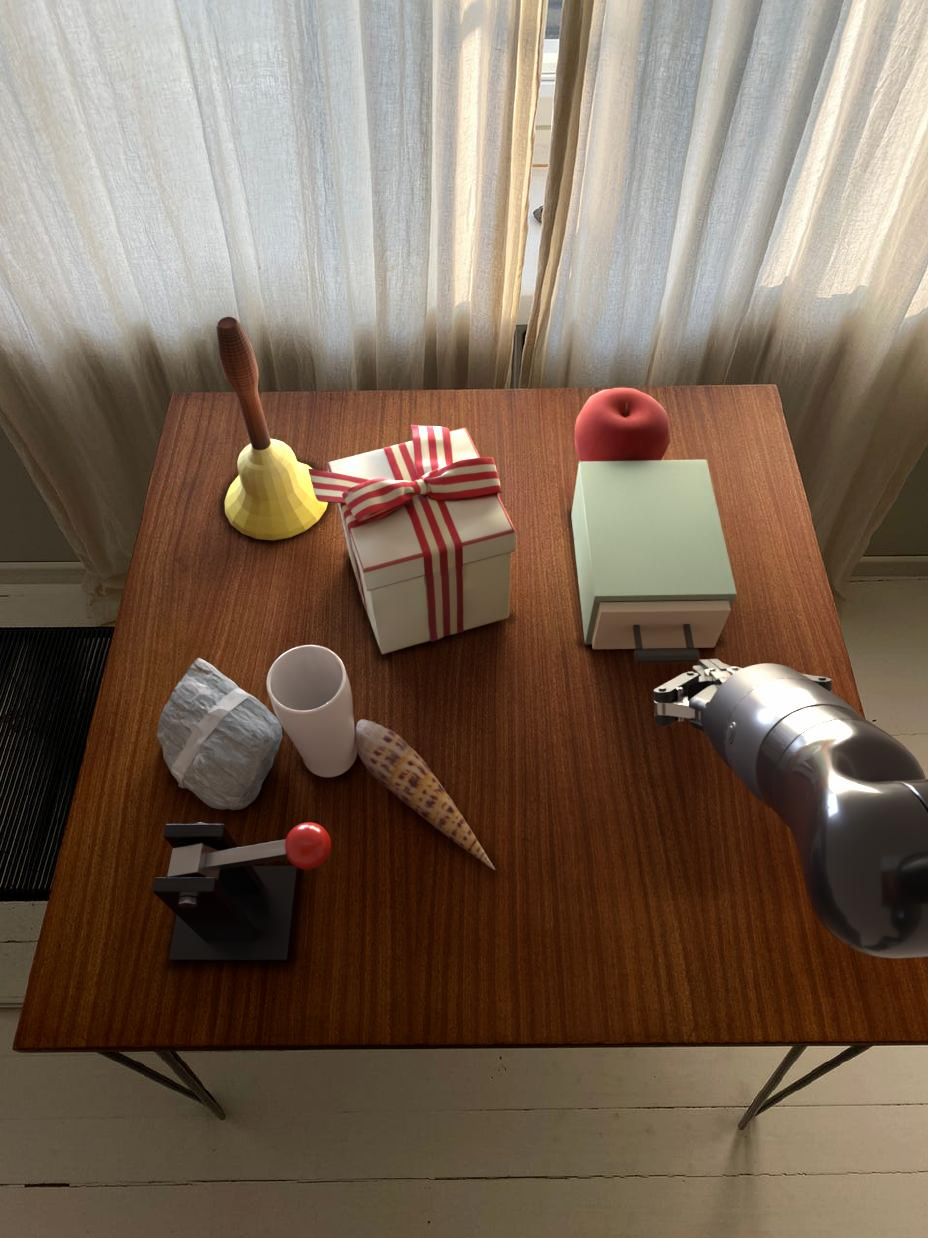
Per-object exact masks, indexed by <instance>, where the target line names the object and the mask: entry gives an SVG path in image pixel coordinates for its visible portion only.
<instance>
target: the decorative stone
mask: <svg viewBox="0 0 928 1238" xmlns="http://www.w3.org/2000/svg"><path fill="white" fill-rule="evenodd" d="M173 689H174V690H173V691H172V693H171V695H170V697H169V699H168V701H167V702H166V704H165V705H164V707H163V709H162V711H161V714H160V716H159V720H158V726H157V727H158V729H157V735H156V737H157V741H158V743H159V744H160V746H161V748H162V757H163V760H164V762H165V763H166V766H167V767H168V770H169V772H170V774H171V776H173V777H174V779H175V781H176V782H177V783H178V785H177V786H178V787H179V788H181V789H187V790H189V791H190V792H191V793H193V794H194V795H195V796H196V797H197V798H198V799H199V800H200V801H201V802H203V803H204V804H206V805H207V806H208V807H210V808H213V809H216V810H230V811H238V810H243V809H245V808H247V807H248V806H249V805H250V804H251V803H253V802H254V801H255V800H256V799H257V798H258V796H259V794H260V792H261V789H262V787H263V784H264V783H263V782H264V781H265V779H266V777H267V775H268V774H269V772H270V771H271V769H272V767H273V766H274V759H275V758H276V755H277V754H278V752H279V750H280V744H281V743H282V739H283V737H284V735H283V726H282V725H281V723H280V721H279V720H278V718H277V716H275V714H273V712H271V711H270V710H269V708H268V707H267V706H266V705H265V704H264V703H262V702H261V701H260V700H259V699H258V698H256V697H255V696H254V695H253V694H250V693H248V692H246V691H245V690H244V689H242V688H241V687H239V686H238V685H237V684H236V683H235V681H233V680H232V679H230V678H229V677H227V676H226V675H224V674H223V673H221V671H219V670H218V669H217V668H216V667H215V666H214V665H213V664H211V663H209V662H208V661H206V660H204V659H202V658H200V657H198V658H196V659H195V660H194V661H193V663H192V664H191V665H190V666H189V668H188V669H187V671H186V673H185V674H184V675H183V676H182V678H181V679H180V680H179V682H178V683H177V684H176V686H175V687H174V688H173Z"/></svg>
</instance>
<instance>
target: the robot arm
mask: <svg viewBox="0 0 928 1238" xmlns="http://www.w3.org/2000/svg"><path fill="white" fill-rule="evenodd" d="M653 713H654V714H653V715H654V716H653V717H654V725H656V726H659V727H667V726H671V725H673V724H674V723H676V722H679V723H681V722H684V721H685V719H688V721H689V722H688V723H689V724H690V726H691V727H692V728H694V729H695V730H699V731H701V732H704V733H705V735H706V737H707V739H708V741H709V743H710V745H711V747H712V750H714V753H716V755H717V756H718V758H720V759H721V760H722V762H723V763H724V764H725V765H726V766H727V767H728V769H730V771H731V772H732V773H733V774H734V775H735V776H736V777H737V779H738V780H739V781H740V782H741V783H742V784H743V785H744V786H745V787H746V789H747V791H749V792H750V794H752V795H753V796H754V797H755V798H756V799H757V800H758V801H760V803H762V804H764V805H765V806H766V807H768V808H769V809H771V810H772V811H773V812H774V813H775V814H776V816H777V817H778V818H779V819H780V820H781V821H782V822H783V824H785V826H786V827H787V828H788V829H789V830H790V832H791V835H792V838H793V840H794V842H795V845H796V848H797V851H798V854H799V857H800V862H801V867H802V868H801V869H802V874H803V879H804V885H805V889H806V892H807V896H808V900H809V902H810V905H811V907H812V910H813V912H814V914H815V916H816V918H817V920H818V921H819V923H820V924H821V925H822V927H823V928H825V930H826V931H827V932H828V933H829V934H830V935H831V936H833V938H835V939H836V940H838V941H839V942H841V943H842V944H843V945H846V946H848V947H849V948H851V949H854V950H855V951H857V952H859V953H862V954H865V955H868V956H872V957H875V958H883V959H893V960H894V959H895V960H896V959H899V960H900V959H915V958H927V957H928V778H927V777H926V775H925V772H924V770H923V768H922V766H921V765H920V763H919V761H918V760H917V758H916V757H915V756H914V754H913V753H912V752H911V751H910V750H909V749H908V748H907V747H906V746H905V745H904V744H903V743H902V742H900V741H899V740H898V739H896V738H894V737H893V736H892V735H891V734H889V733H888V732H886V731H885V730H883V729H882V728H881V727H879V726H877V725H876V724H874V723H873V722H871V721H869V720H868V719H866V718H865V717H863V716H861V715H860V714H859V713H858V711H856V710H855V709H854V708H853V706H851V705H850V704H849V702H846V700H844V699H843V698H841V697H839V696H838V695H836V694H835V693H833V690H832V678H829V677H826V676H821V675H814V674H813V675H812V674H806V673H802V672H799V671H798V670H796V669H794V668H792V667H790V666H787V665H783V664H778V663H771V662H770V663H764V662H763V663H757V664H752V665H749V666H746V667H743V668H742V667H739V666H736V665H733V666H731V665H729V664H727V663H723V662H722V661H721V660H720V659H718V658H709V659H708V658H707V659H698V662H697V665H693V666H692V671H687V672H683V673H681V674H679V675H677V676H675V677H674V678H672V679H671V680H667V682H664V683H663V684H661V685H659V686H658V687H656V688H654V689H653Z"/></svg>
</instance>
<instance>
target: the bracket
mask: <svg viewBox="0 0 928 1238" xmlns="http://www.w3.org/2000/svg"><path fill="white" fill-rule="evenodd" d="M162 837H163V839H164V840H165V841H166V842H167V843H168V844H169V845H170V846H171V848H172V849H173V848H177V847H183V846H188V845H194V844H199V843H203V844H205V845H207V846H209V847H212V848H214V849H216V850H218V851H221V850H227V849H233V848H239V847H240V846H239V844H238V843H237V841H236V840H235V838H234V837H233V836H232V834H231V832H230V831H229V830H228V828H227V827H226V825H225V824H224V823H207V822H194V823H165V825H164V829H163V834H162ZM299 876H300V868H298V867H296V866H294V865H248V866H242V867H236V868H229V869H223V870H220V871H219V877H218V880H217V879H216V878H168V877H154V879H153V883H152V888H151V892H152V893H153V894H154V895H155V896H156V897H157V898H158V899H159V900H161V901H162V903H163V904H164V905H165V906H167V907H168V908H169V909H170V910H171V911H172V912H173V913H174V914H175V920H174V926H173V932H172V938H171V944H170V948H169V953H168V961H170V962H171V963H173V964H188V963H190V964H230V963H231V964H289V963H290V958H291V951H292V950H291V949H292V942H293V941H292V939H293V930H294V922H295V921H294V920H295V913H296V902H297V895H298V894H297V893H298V884H299Z"/></svg>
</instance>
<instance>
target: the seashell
mask: <svg viewBox="0 0 928 1238" xmlns="http://www.w3.org/2000/svg"><path fill="white" fill-rule="evenodd" d="M355 738H356V746H357V755H358V756H359V758H360V760H361V761H362V763H363V765H364V766H365V768H366V769H367V770H368V771H369V773H370V774H371V775H372V776H373V777H374V778H375V779H376V780H377V781H378V782H379V783H380V784H382V786H384V787H385V788H387V789H388V790H389V791H391V792H392V794H394V795H395V796H396V797H397V798H398V799H399V800H400V801H401V802H402V803H404V804H405V805H406V806H408V807H409V808H411V809H413V811H415V813H417V814H418V815H419V816H421V818H423V819H424V820H426V821H427V822H428V823H430V824H431V825H432V826H433V827H434V828H435V829H436V830H438V831H439V832H440V833H441V834H443V835H445V837H447V838H448V839H449V840H451V841H452V842H453V843H456V844H457V846H460V847H461V848H462V849H464V850H465V851H467V852H468V853H469V854H471V855H473V856H474V857H475V858H476V859H478V860H479V861H481V862H482V863H483V864H484V865H485V866H488V867H489V868H491V869H492V870H494V871H496V868H495V866H494V865H493V863H492V862H491V860H490V858H489V857H488V855H487V853H486V852H485V850H484V849H483V847H482V846H481V844H480V842H479V840H478V838H477V837H476V835H475V834H474V832H473V830H472V828H471V827H470V825H469V824H468V823H467V821H466V819H465V818H464V816H463V815H462V814H461V812H460V811H459V809H458V807H457V806H456V804H455V802H454V800H453V799H452V798H451V797H450V795H449V794H448V793H447V792H446V790H445V788H444V787H443V785H442V784H441V783H440V781H439V780H438V778H437V777H436V776H435V774H434V773H433V772H432V771H431V768H429V765H428V764H427V763H426V761H425V760H424V759H423V758H422V757H421V756H420V755H419V754H418V752H417V751H416V750H414V748H412V747H411V746H410V745H409V744H408V743H407V742H406V740H405V739H403V738H402V736H400V735H399V734H397V733H396V732H395V731H394V730H391V729H389V728H385V727H384V725H382V724H379V723H377V722H375V721H373V720H367V719H364V718H363V719H360V720H358V721H357V723H356V726H355Z"/></svg>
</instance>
